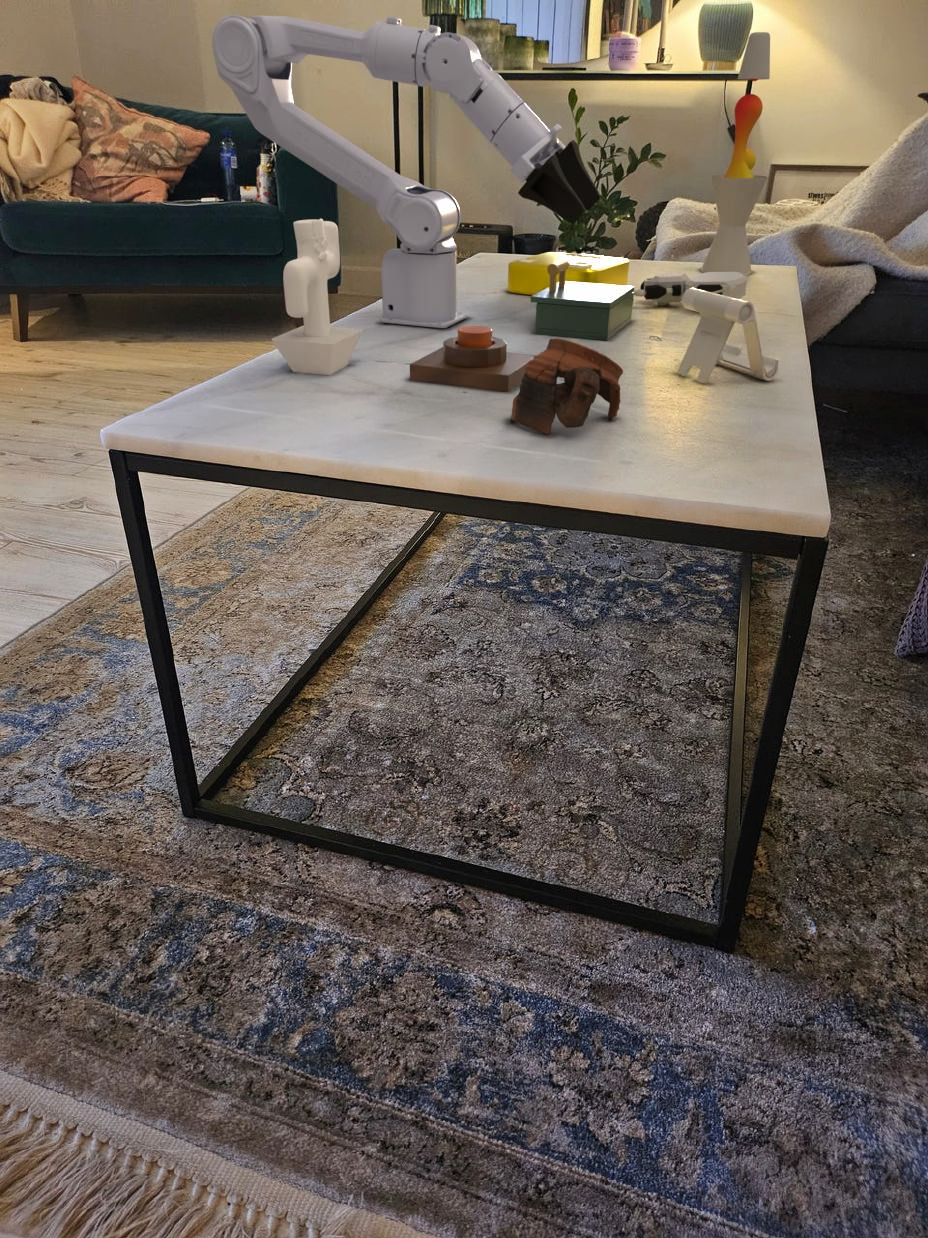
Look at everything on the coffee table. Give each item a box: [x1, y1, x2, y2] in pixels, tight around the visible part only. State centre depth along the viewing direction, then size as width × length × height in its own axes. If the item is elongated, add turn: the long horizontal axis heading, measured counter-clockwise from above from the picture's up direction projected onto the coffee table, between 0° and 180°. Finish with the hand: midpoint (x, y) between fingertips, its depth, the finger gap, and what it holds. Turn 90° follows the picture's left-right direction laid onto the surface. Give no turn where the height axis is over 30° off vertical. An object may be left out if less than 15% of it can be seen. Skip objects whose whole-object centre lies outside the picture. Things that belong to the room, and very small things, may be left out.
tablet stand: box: [677, 288, 779, 384], centre depth 92 cm, size 9×8×8 cm
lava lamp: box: [700, 31, 771, 275], centre depth 145 cm, size 9×9×35 cm
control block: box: [409, 336, 537, 393], centre depth 93 cm, size 11×9×4 cm
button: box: [457, 325, 493, 347], centre depth 92 cm, size 4×4×2 cm
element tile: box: [507, 251, 630, 296], centre depth 137 cm, size 15×15×5 cm
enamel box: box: [534, 292, 635, 341], centre depth 114 cm, size 9×12×4 cm
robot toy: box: [634, 272, 751, 306], centre depth 126 cm, size 12×4×15 cm
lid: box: [530, 259, 635, 309], centre depth 112 cm, size 10×12×4 cm
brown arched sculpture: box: [509, 337, 624, 436], centre depth 78 cm, size 12×10×8 cm
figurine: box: [270, 218, 363, 376], centre depth 92 cm, size 7×9×15 cm
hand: (587, 210), depth 106 cm, fingers open, 7 cm apart
